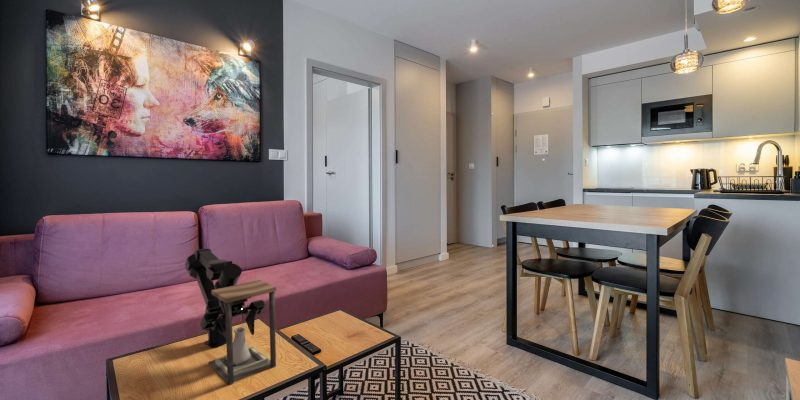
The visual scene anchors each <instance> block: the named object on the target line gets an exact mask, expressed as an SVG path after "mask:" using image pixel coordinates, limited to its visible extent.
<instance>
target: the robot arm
mask: <svg viewBox="0 0 800 400" xmlns="http://www.w3.org/2000/svg"><path fill="white" fill-rule="evenodd" d="M184 263H185V264H184V266H185V267H184V268H185V270H186V271H187V272H188V275H189V276H190V277H192V278H194V279H196V282H197V285H198V287H199V289H200V292H201V295H202V298H203V300H204V303H205V305H206V306H205V310H204V314H203V316H202V318H201V320H200V328H201V330H202V331H207V334H208V335H207V336H208V338H207V340H205V341H204V342H203V343H204V344H205V345H207V346H208V347H210V348H211V349H213V348H214V349H215V348H217V347H221V346H222V345H225V344H226V312H225V302H223V301H222V300H220V299H218V298H217V297H215V296H214V295H212V292H211V290H215V289H220V288H225V287H229V286H234V285H238V282H239V279H240V277H241V275H242V272H243V271H242V267H240V265H238V264H236V263H233V261H232V260H226V259H219V257H217V256H216V255H215V253H213V252H212V250H211V248H200V249H197V250H195V251H194V253H192V254H191V255H189V256H188V257H187V258H186V259H185V262H184ZM214 281H216V282H215V283H214ZM252 298H253V297H250V298H246V299H241V300H237V301H233V302H231V303H232V318H235V317H238V316H239V317H240V316H243V315H246V318H245V322H246V325H247V328H248V330H249V332H250V334H251V336H254V335H255V318H256V316H260V315H261V314H262V313H263V311H264V309H265V307H266V306H267V305H266V303H265V301H264V300H263V299H259V300H255V301H250V304H249V305H248V306H246V307H244V306H245V304H246V303H247V302H248V300H250V299H252ZM245 302H246V303H245Z"/></svg>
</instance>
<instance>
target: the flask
mask: <svg viewBox="0 0 800 400" xmlns="http://www.w3.org/2000/svg"><path fill="white" fill-rule="evenodd" d="M246 331H247V330H246V328H245V327H242V326H241V327H236V328H235V329H234V331H233V332H234V339H233V364H234V365H239V364H242V363H245V362H247V361H248V360H249V359H250V358H251V354H250V352H249V349H248V348H249V347H248V344H247V341H246V335H245V334H246ZM225 356H226V360H227V354H226V355H225Z"/></svg>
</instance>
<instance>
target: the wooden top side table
mask: <svg viewBox="0 0 800 400" xmlns="http://www.w3.org/2000/svg"><path fill="white" fill-rule="evenodd" d="M276 291H277V286H274V285H273V284H270V283H267V282H266V281H263V280H261V279H259V280H253V281H248V282H244V283H240V284H236V285H234V286H229V287H225V288H220V289H215V290H211V292H212V295H214V296H215V297H217V298H218V299H220V300H222V301H223V302H225V312H226V343H225V344H226V355H227V360H226V355H223V356H220V357H218V358H214V359H213V360H210V361H208V365H210V367H212V368H213V370H214V371H215V372H217V374H219V376H221V378H223V379H224V381H225V382H226V383H227V385H228V386H231V385H233V384H235V382H236V381H237V382H238V381H239V380H241V379H244V378H245V379H246V378H248V377H249V376H252V375H255V374H257V373H260V372H263V371H265V370H268V369H270V368H275V367H276V366H277V352H276V350H277V347H276V346H277V345H276V308H275V307H276V305H275V304H276V302H275V298H276V297H275V294H276ZM265 294H268V306H269V307H268V308H269V309H268V310H269V313H268V314H269V353H270V355H269V356H270V357H269V358H270V359H269V358H268V357H266V356H265V355H264V354H263V353H261V352H260V351H259V350H257V349H255V348H254V347H253V346H250V347H248V349H249V352H250V354H251V358H250V359H249V360H248V361H247V362H245V363H242V364H239V365H234V364H233V341H234V339H233V317H232V303H231V302H233V301H237V300H241V299H246V298H250V297H252V298H253V297H254V298H255V297H257V296H261V295H265ZM250 299H251V298H250Z"/></svg>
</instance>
